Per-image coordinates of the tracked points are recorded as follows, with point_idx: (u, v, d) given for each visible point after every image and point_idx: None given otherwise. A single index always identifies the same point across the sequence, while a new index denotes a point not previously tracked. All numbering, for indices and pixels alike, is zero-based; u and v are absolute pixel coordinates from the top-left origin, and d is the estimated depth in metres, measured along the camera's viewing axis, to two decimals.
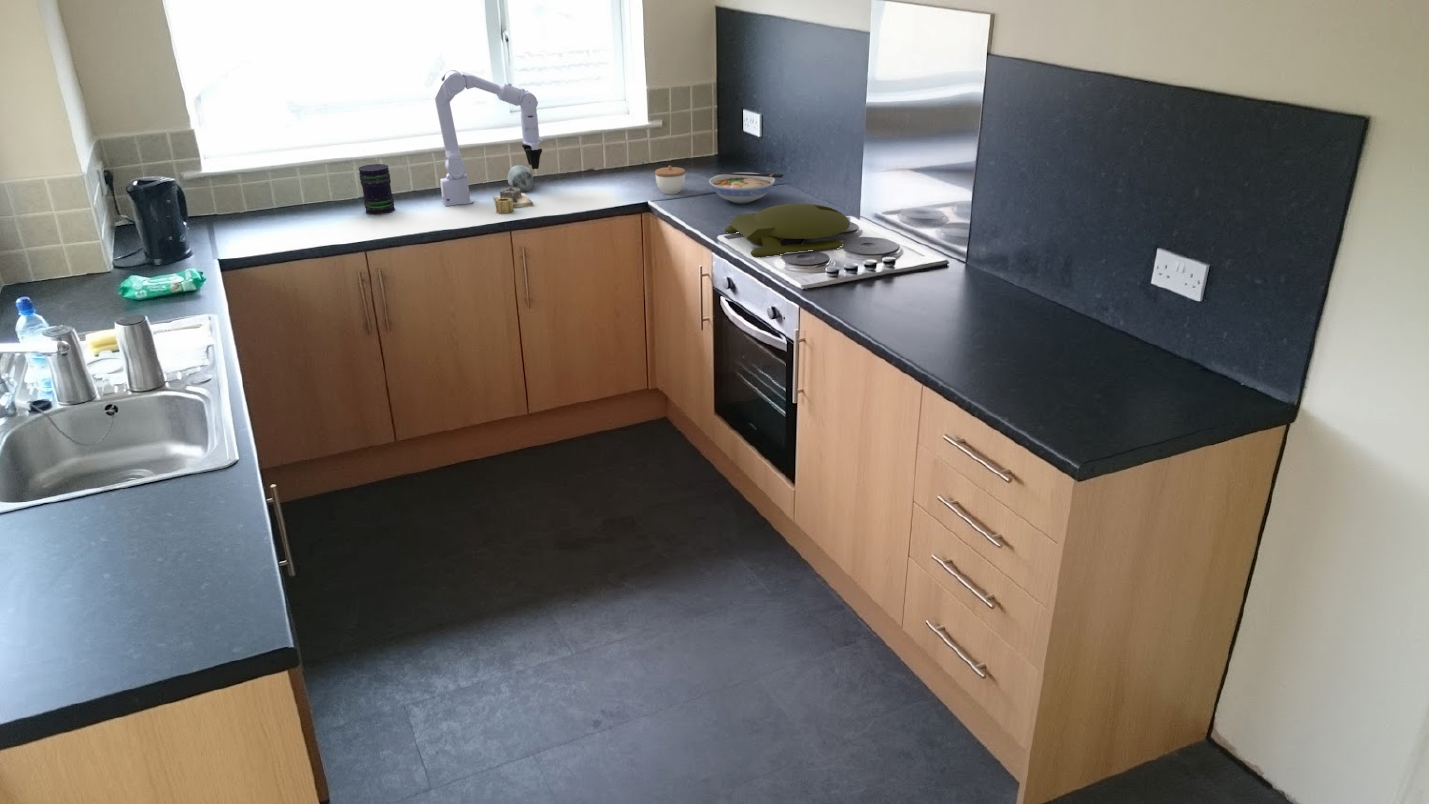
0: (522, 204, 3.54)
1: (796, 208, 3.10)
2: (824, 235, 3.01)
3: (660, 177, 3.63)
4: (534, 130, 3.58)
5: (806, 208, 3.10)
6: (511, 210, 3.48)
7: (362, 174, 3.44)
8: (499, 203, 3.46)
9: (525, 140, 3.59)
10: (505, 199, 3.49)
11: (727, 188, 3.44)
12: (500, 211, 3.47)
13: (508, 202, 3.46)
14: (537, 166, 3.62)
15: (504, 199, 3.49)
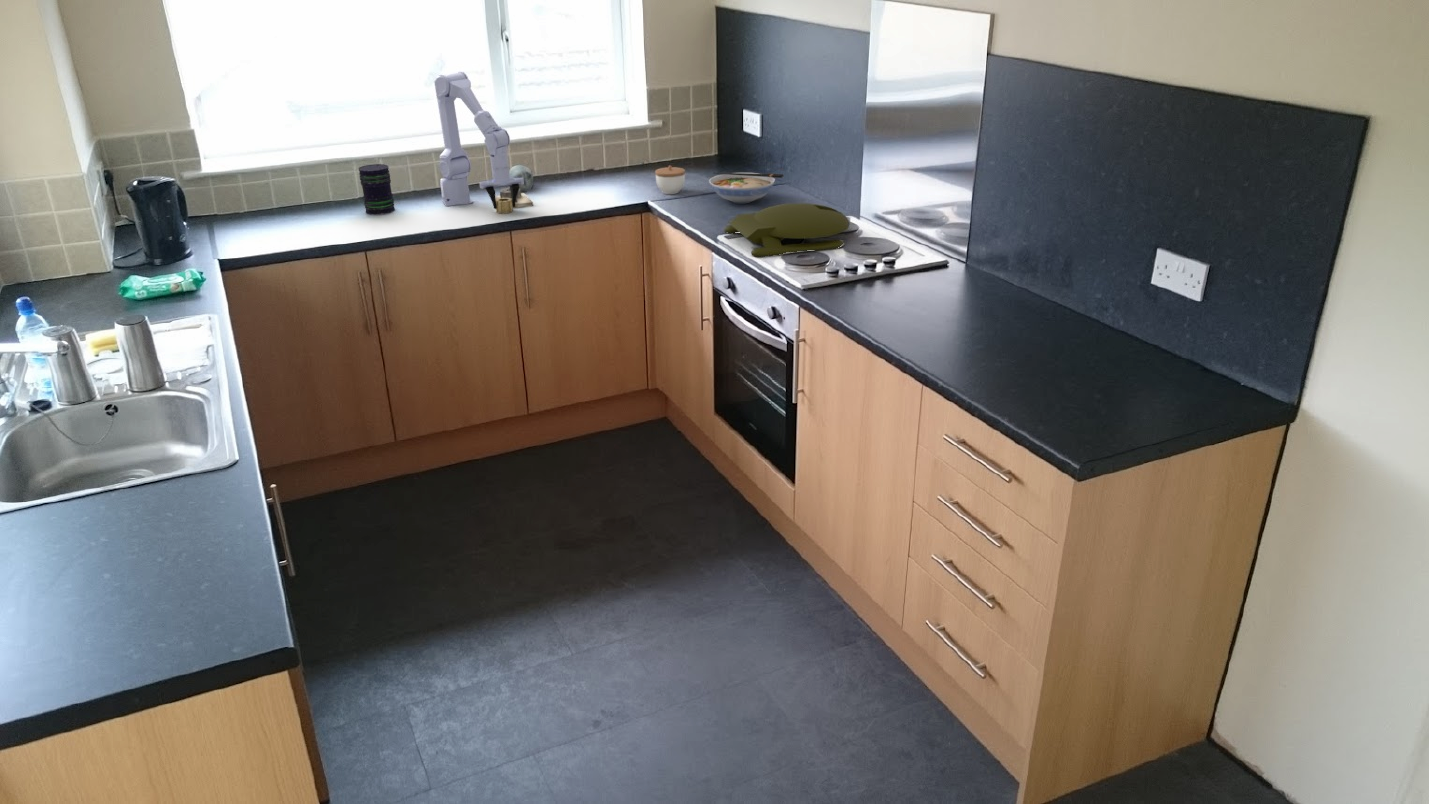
0: (522, 204, 3.54)
1: (796, 208, 3.11)
2: (824, 235, 3.01)
3: (660, 177, 3.63)
4: (493, 170, 3.42)
5: (806, 208, 3.11)
6: (511, 210, 3.48)
7: (362, 174, 3.44)
8: (499, 203, 3.46)
9: None
10: (505, 199, 3.49)
11: (727, 188, 3.44)
12: (500, 211, 3.47)
13: (508, 202, 3.46)
14: (494, 206, 3.47)
15: (504, 199, 3.49)
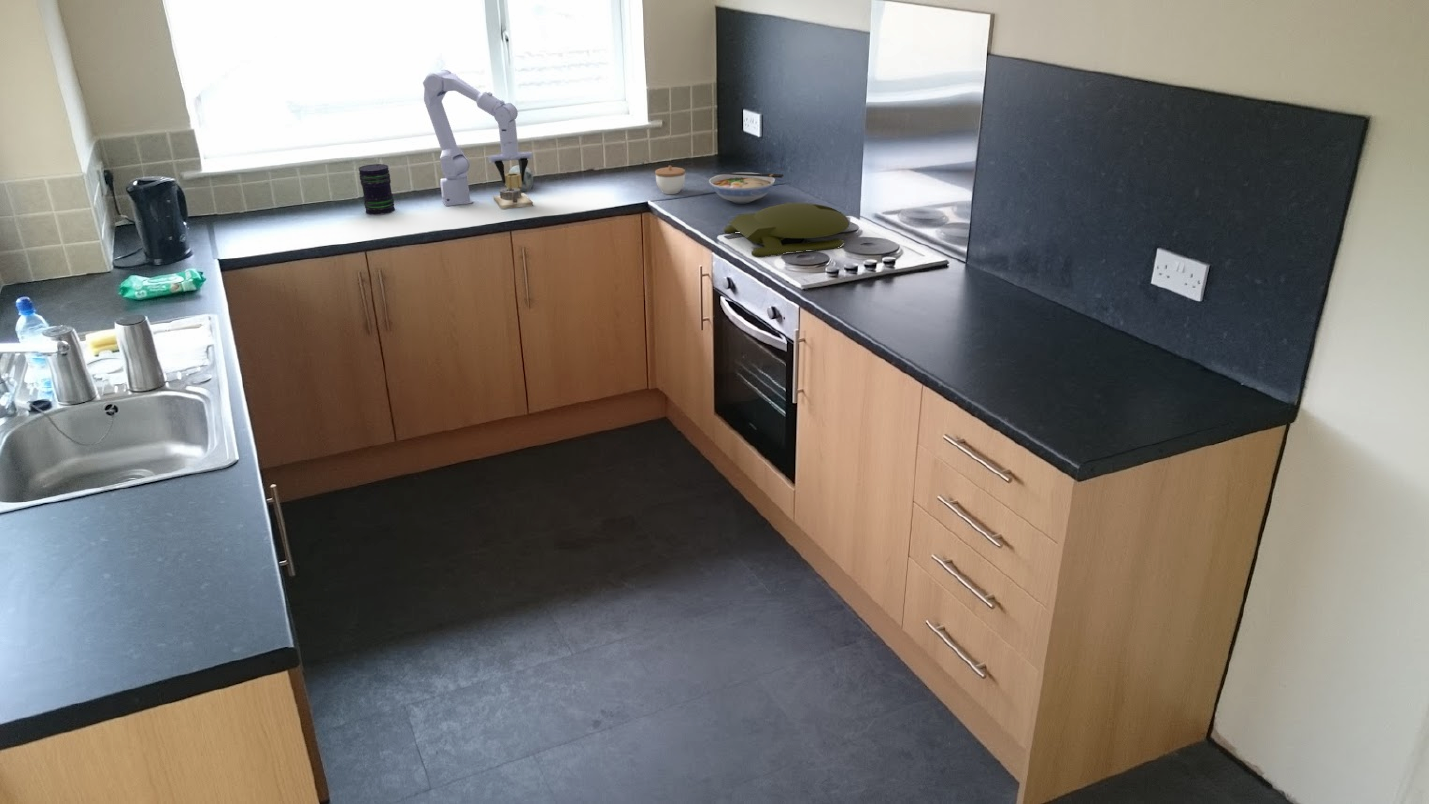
0: (522, 204, 3.54)
1: (796, 208, 3.11)
2: (825, 234, 3.01)
3: (660, 177, 3.63)
4: (502, 144, 3.46)
5: (806, 207, 3.11)
6: (520, 185, 3.52)
7: (362, 174, 3.44)
8: (508, 178, 3.50)
9: None
10: (514, 174, 3.54)
11: (727, 188, 3.44)
12: (509, 186, 3.51)
13: (517, 177, 3.50)
14: (502, 180, 3.51)
15: (513, 174, 3.54)
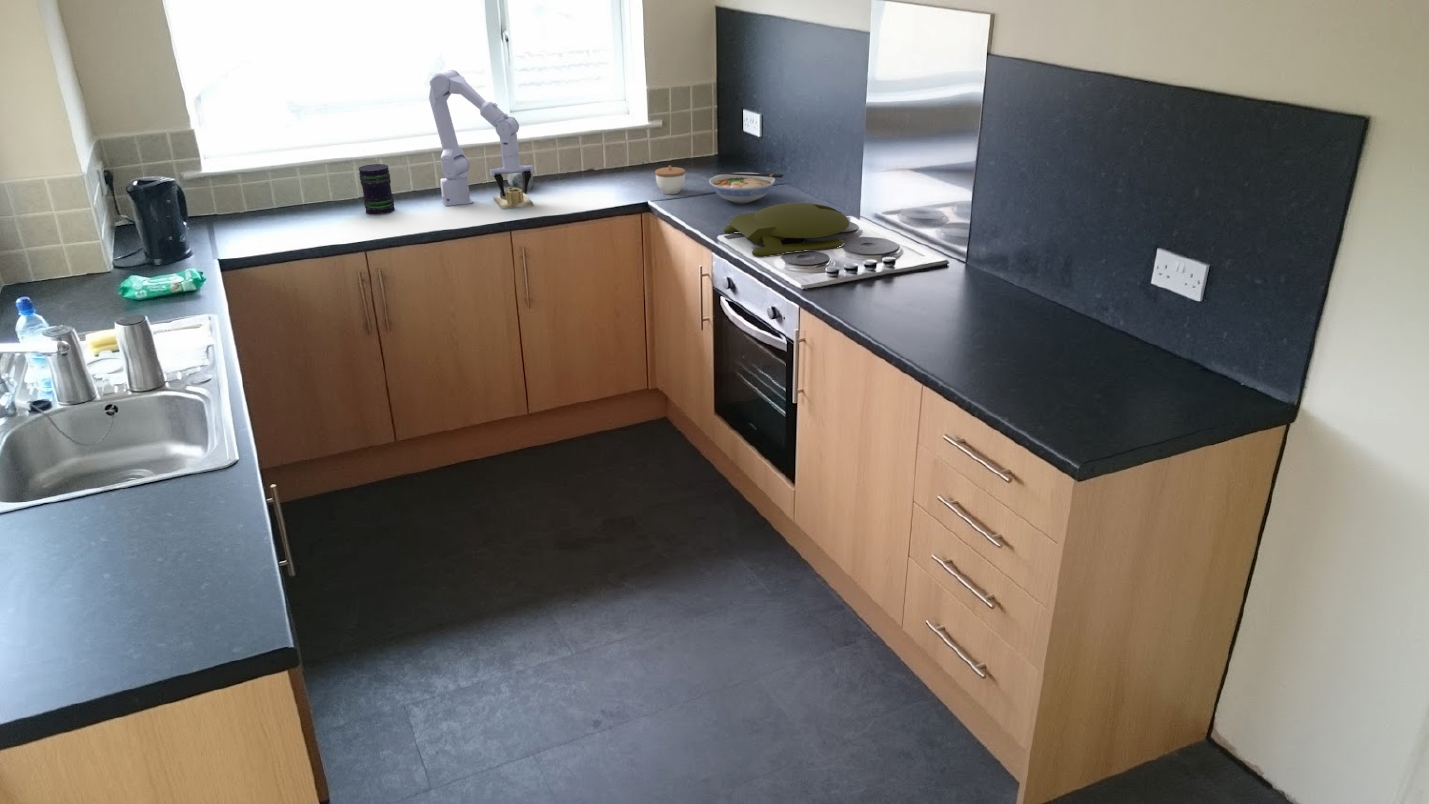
0: (522, 204, 3.54)
1: (796, 207, 3.11)
2: (825, 234, 3.01)
3: (660, 177, 3.63)
4: (503, 157, 3.48)
5: (806, 207, 3.11)
6: (521, 201, 3.55)
7: (362, 174, 3.44)
8: (510, 194, 3.52)
9: None
10: (516, 190, 3.56)
11: (727, 188, 3.44)
12: (510, 202, 3.53)
13: (518, 193, 3.53)
14: (502, 193, 3.53)
15: (515, 190, 3.56)
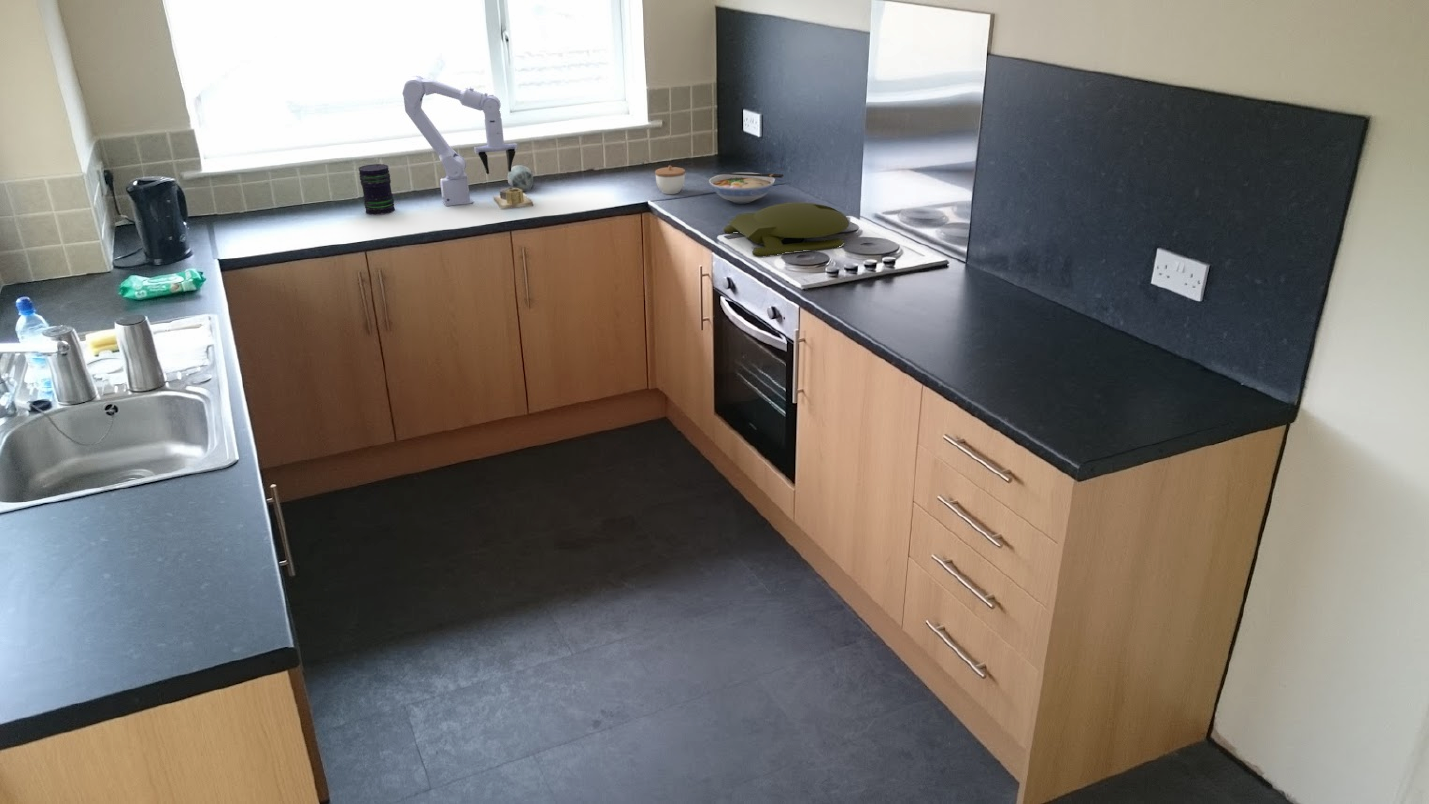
0: (522, 204, 3.54)
1: (796, 207, 3.11)
2: (825, 234, 3.02)
3: (660, 177, 3.63)
4: (487, 135, 3.52)
5: (806, 207, 3.11)
6: (521, 201, 3.55)
7: (362, 174, 3.44)
8: (510, 194, 3.52)
9: None
10: (516, 190, 3.56)
11: (727, 188, 3.44)
12: (510, 202, 3.53)
13: (518, 193, 3.53)
14: (486, 171, 3.57)
15: (515, 190, 3.56)
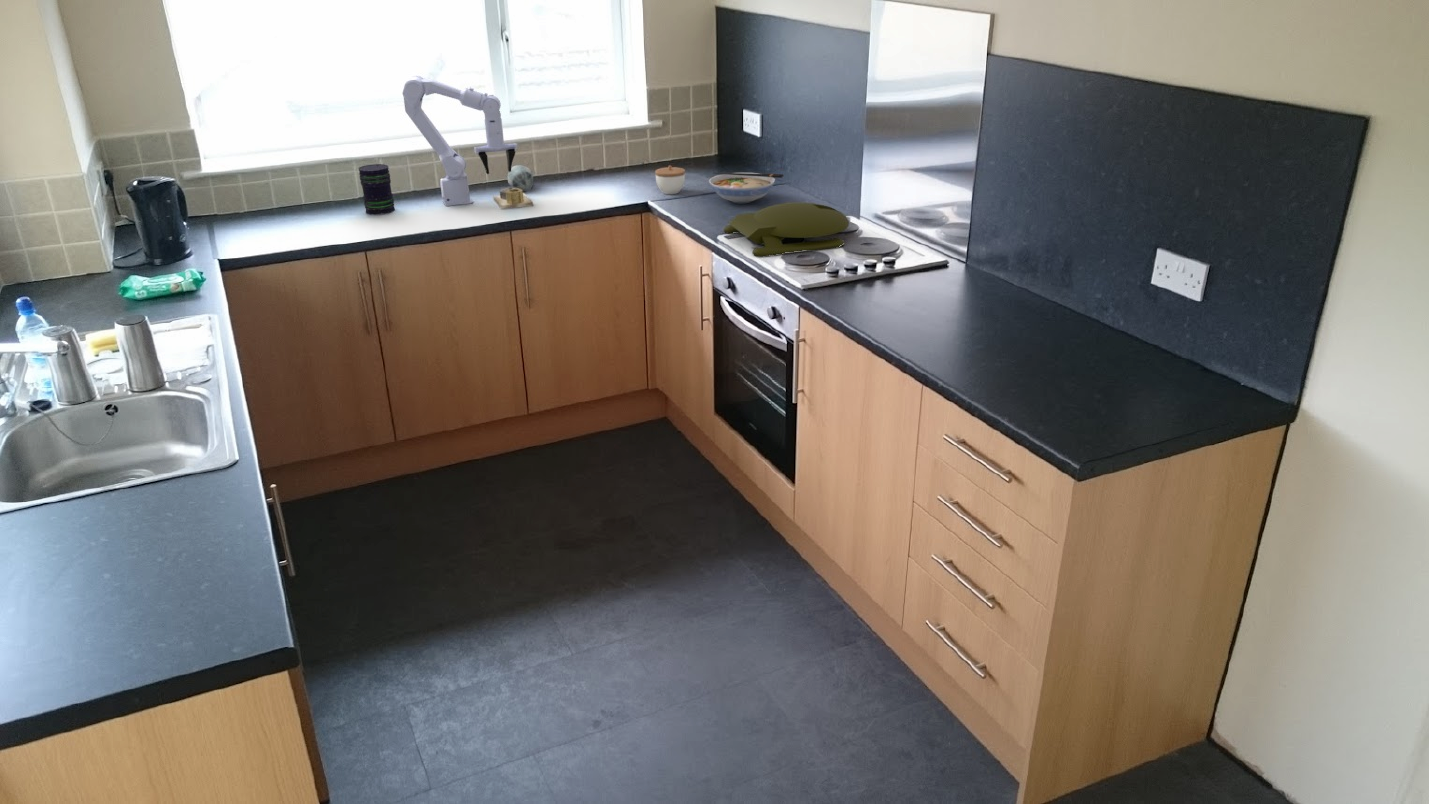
0: (522, 204, 3.54)
1: (796, 207, 3.11)
2: (825, 234, 3.02)
3: (660, 177, 3.63)
4: (487, 135, 3.52)
5: (806, 207, 3.11)
6: (521, 201, 3.55)
7: (362, 174, 3.44)
8: (510, 194, 3.52)
9: None
10: (516, 190, 3.56)
11: (727, 188, 3.44)
12: (510, 202, 3.53)
13: (518, 193, 3.53)
14: (486, 171, 3.57)
15: (515, 190, 3.56)
